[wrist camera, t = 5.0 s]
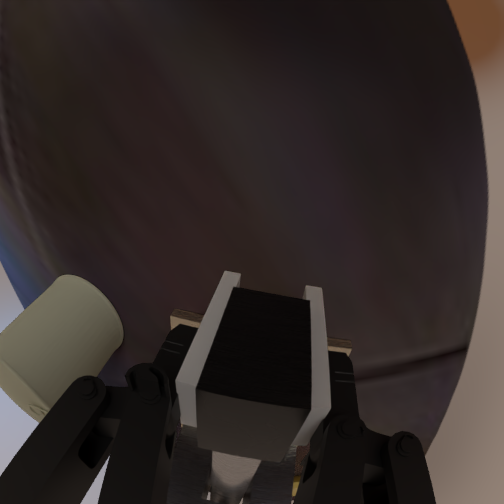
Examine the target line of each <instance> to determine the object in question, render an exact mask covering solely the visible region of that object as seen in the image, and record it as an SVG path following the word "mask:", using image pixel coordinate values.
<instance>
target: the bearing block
mask: <svg viewBox="0 0 504 504" xmlns="http://www.w3.org/2000/svg"><path fill="white" fill-rule="evenodd" d="M203 317H204V315H202V314H197V313H193V312H189V311H184V310H180V309H176V308H175V309H174V311H173V312H172V314H171V316H170V319H171V330H172V329H173V328H175V327H176V326H177V325H179V324H184V325H188V326H192V327H196V328H199V326H200V324H201V322H202V320H203ZM327 347H328V350H329V351H337V352H345V353H346V354H347V355H348V356H349V354H350V352H351V350H352V346H351V340H343V339H336V338H328V337H327ZM181 427H182V429H181V432H180V434H179V437H178V440H177V443H176V445H175V449H174V455H173V461H172V468H171V474H170V481H169V488H168V495H167V503H166V504H224V503H219V502H214V501H210V500H206V499H207V495H208V492H209V488H210V485H211V469H212V451H211V450H207V449H203V448H199V447H198V439H197V428H196V427H193V426H189V425H185V424H182V423H181ZM297 446H298V445H291V446H290V447H289V449H288V451H287V452H286V454H285V455H284V457H283V459H282V460H281V462H272V461H265V460H261V462H260V464H259V466H258V468H257V470H256V472H255V474H254V476H253V478H252V480H251V482H250V484H249V486H248V488H247V490H246V492H245V494H244V498H243V503H242V504H291V501H292V491H293V481H294V471H295V459H296V448H297Z"/></svg>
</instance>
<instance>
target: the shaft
mask: <svg viewBox="0 0 504 504" xmlns="http://www.w3.org/2000/svg"><path fill="white" fill-rule="evenodd" d="M195 394H196V420H197V439H198V447H199V448H203V449H207V450H211V451H212V469H211V495H210V501H214V502H219V503H224V504H239V503H240V501H241V499H242V498H243V496H244V494H245V492H246V490H247V488H248V486H249V484H250V482H251V480H252V478H253V476H254V474H255V472H256V470H257V468H258V466H259V464H260V462H261V460H265V461H272V462H281V460H282V459H283V457H284V455H285V454H286V452H287V451H288V449H289V447H290V446H291V444H292V443H293V441H294V439H295V438H296V436H297V434H298V432H299V431H300V429H301V427H302V426H303V424H304V422H305V420H306V419H307V417H308V415H309V413H310V411H311V401H312V351H311V310H310V300H305V299H299V298H293V297H288V296H282V295H276V294H271V293H265V292H260V291H255V290H249V289H244V288H239V287H234V286H233V289H232V292H231V294H230V297H229V300H228V302H227V305H226V308H225V310H224V313H223V316H222V318H221V321H220V324H219V327H218V329H217V332H216V335H215V337H214V340H213V343H212V345H211V348H210V351H209V353H208V356H207V359H206V362H205V364H204V367H203V370H202V372H201V375H200V378H199V380H198V383H197V386H196V389H195Z"/></svg>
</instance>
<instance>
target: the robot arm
mask: <svg viewBox="0 0 504 504" xmlns="http://www.w3.org/2000/svg"><path fill="white" fill-rule="evenodd" d="M240 278H241V274H240V273H235V272H229V271H225V272H224V274H223V276H222V278H221V280H220V282H219V285H218V287H217V289H216V291H215V293H214V296H213V298H212V300H211V302H210V304H209V306H208V309H207V311H206V313H205V315H204V317H203V320H202V322H201V324H200V326H199V328H196V327H192V326H188V325H184V324H179V325H177V326H176V327H175V328H173V329H172V330H171V331H170V332H169V334H168V336H167V338H166V340H165V342H164V343H163V345H162V347H161V349H160V351H159V352H158V354H157V356H156V358H155V360H154V362H153V363H141V364H138V365H135V366H133V367H132V368H130V369H129V370H128V371H127V373H126V375H125V377H126V380H127V384H128V387H112V386H105V385H104V383H103V381H102V380H100V379H99V378H98V377H95V376H92V375H86V376H82V377H79V378H77V379H76V380H75V381H73V382H72V384H71V385H70V386H69V387H68V388H67V390H66V391H65V392H64V393H63V395H62V396H61V397H60V398H59V399H58V401H57V402H56V403H55V404H54V406H53V407H52V408H51V409H50V411H49V412H48V413H47V414H46V416H45V417H44V418H43V419H42V421H41V422H40V423H39V425H38V426H37V427H36V429H35V430H34V431H33V433H32V434H31V435H30V436H29V438H28V439H27V440H26V442H25V443H24V444H23V446H22V447H21V448H20V450H19V451H18V452H17V454H16V455H15V456H14V458H13V459H12V461H11V462H10V463H9V465H8V466H7V467H6V469H5V471H4V472H3V473H2V475H1V476H0V504H80V503H81V502H82V500H83V498H84V497H85V495H86V493H87V491H88V490H89V488H90V487H91V485H92V483H93V482H94V480H95V478H96V477H97V475H98V473H99V472H100V470H101V468H102V467H103V465H104V464H105V462H106V460H107V459H108V457H109V455H110V458H109V461H108V465H107V469H106V472H105V476H104V480H103V484H102V488H101V492H100V496H99V500H98V504H166V503H167V495H168V488H169V481H170V474H171V468H172V461H173V455H174V449H175V443H176V437H177V430H176V427H177V424H178V422H179V419H180V421H181V423H182V424H185V425H189V426H193V427H196V428H197V420H196V394H195V389H196V386H197V383H198V380H199V378H200V375H201V372H202V370H203V367H204V364H205V362H206V359H207V356H208V353H209V351H210V348H211V345H212V343H213V340H214V337H215V335H216V332H217V329H218V327H219V324H220V321H221V318H222V316H223V313H224V310H225V308H226V305H227V302H228V300H229V297H230V294H231V292H232V289H233V286H234V287H239V286H240ZM302 299H305V300H310V310H311V351H312V401H311V411H310V413H309V415H308V417H307V419H306V420H305V422H304V424H303V426H302V427H301V429H300V431H299V432H298V434H297V436H296V438H295V439H294V441H293V443H292V444H291V445H300V446H307V444H308V443H309V441H310V451H309V452H308V454H307V455H306V456H305V458H304V459H303V460H302V462H301V464H300V465H302V466H303V465H304V466H303V470H302V474H301V478H300V481H299V485H298V489H297V492H296V496H295V499H294V503H293V504H436V502H435V497H434V492H433V487H432V483H431V479H430V475H429V471H428V467H427V463H426V459H425V456H424V452H423V448H422V445H421V443H420V441H419V439H418V438H417V437H416V436H415V435H414V434H412V433H410V432H404V431H401V432H398V433H395V434H394V435H393V436H392V437H390V436H386V435H383V434H380V433H376V432H374V431H371V430H370V429H368V428H367V427H366V425H365V424H364V422H363V421H362V420H361V419H360V417H359V413H358V404H357V395H356V387H355V383H354V382H355V380H354V375H353V373H354V372H353V365H352V362H351V360H350V358H349V357H348V355H347V354H346V353H345V352H337V351H329V350H328V347H327V334H326V323H325V313H324V303H323V293H322V288H319V287H313V286H308V285H306V287H305V291H304V295H303V298H302Z"/></svg>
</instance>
